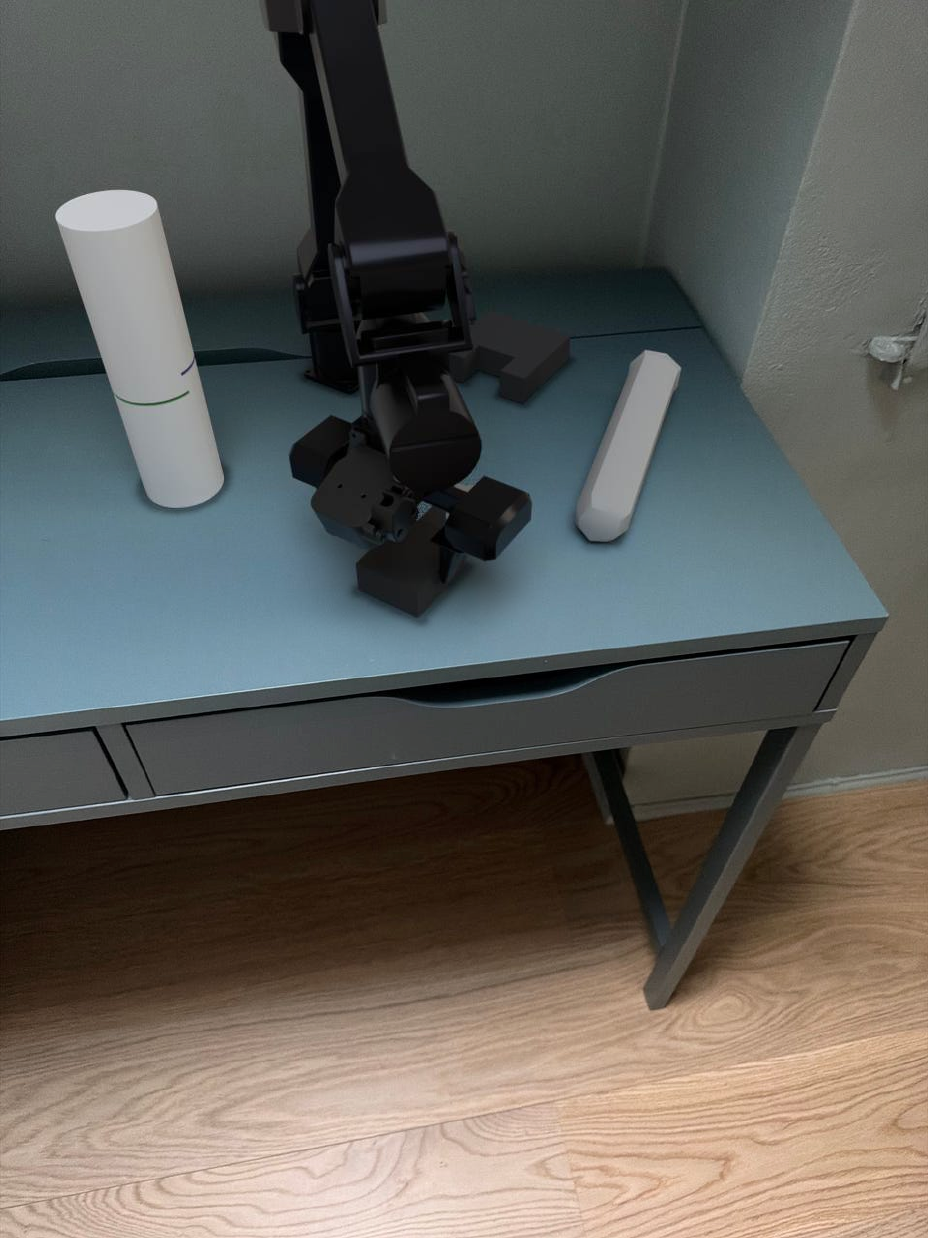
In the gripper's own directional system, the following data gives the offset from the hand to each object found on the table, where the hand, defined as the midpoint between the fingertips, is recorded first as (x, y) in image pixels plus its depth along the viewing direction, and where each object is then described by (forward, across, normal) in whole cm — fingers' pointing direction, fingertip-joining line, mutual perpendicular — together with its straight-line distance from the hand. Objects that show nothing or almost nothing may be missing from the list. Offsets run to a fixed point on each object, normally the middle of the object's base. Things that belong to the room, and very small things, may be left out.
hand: (411, 564), depth 74 cm
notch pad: (+2, -10, +32) cm, 34 cm away
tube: (-1, +6, +23) cm, 23 cm away
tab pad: (+1, 0, +1) cm, 2 cm away
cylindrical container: (+2, -25, -1) cm, 25 cm away
